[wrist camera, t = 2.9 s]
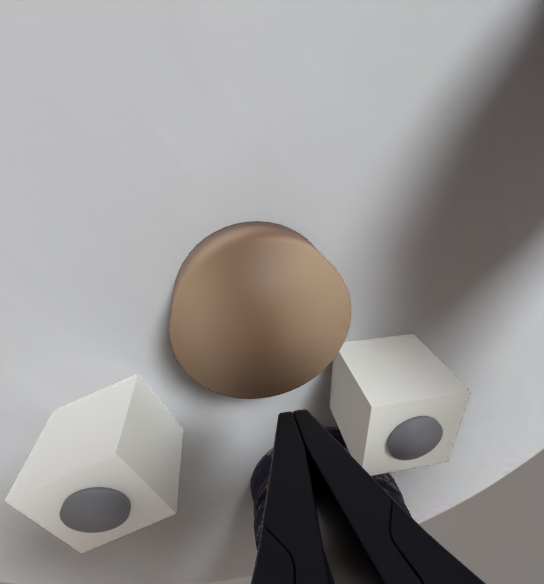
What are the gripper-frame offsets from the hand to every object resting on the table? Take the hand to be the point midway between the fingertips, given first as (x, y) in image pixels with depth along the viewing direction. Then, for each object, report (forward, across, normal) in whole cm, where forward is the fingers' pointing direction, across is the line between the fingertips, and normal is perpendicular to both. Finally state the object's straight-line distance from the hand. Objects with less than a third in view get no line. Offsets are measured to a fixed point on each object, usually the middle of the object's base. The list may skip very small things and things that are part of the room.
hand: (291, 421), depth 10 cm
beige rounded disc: (+8, 0, 0) cm, 8 cm away
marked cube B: (+8, +8, +7) cm, 13 cm away
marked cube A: (+8, -7, +6) cm, 12 cm away
